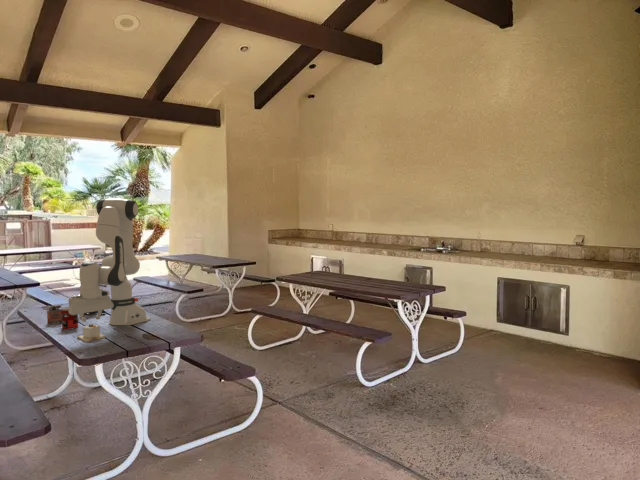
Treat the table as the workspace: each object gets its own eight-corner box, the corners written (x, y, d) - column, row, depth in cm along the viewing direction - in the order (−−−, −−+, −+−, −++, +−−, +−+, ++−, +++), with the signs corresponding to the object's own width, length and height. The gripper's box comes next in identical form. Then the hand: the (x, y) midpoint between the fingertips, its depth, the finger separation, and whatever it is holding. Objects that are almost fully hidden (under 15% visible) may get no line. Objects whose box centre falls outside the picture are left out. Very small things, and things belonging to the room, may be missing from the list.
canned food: (60, 327, 263) (59, 307, 262) (76, 324, 268) (75, 305, 267) (63, 330, 257) (62, 310, 256) (79, 327, 262) (79, 308, 262)
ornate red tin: (47, 324, 270) (46, 307, 269) (46, 323, 273) (46, 306, 272) (63, 322, 275) (62, 305, 274) (62, 321, 277) (61, 304, 277)
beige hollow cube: (92, 333, 245) (92, 323, 245) (100, 335, 242) (99, 324, 242) (83, 336, 240) (82, 325, 240) (90, 337, 237) (89, 327, 237)
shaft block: (97, 334, 248) (96, 321, 248) (106, 337, 242) (105, 324, 241) (77, 338, 241) (76, 324, 240) (85, 341, 234) (85, 327, 234)
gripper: (71, 297, 230) (72, 325, 231) (112, 291, 245) (113, 317, 246) (65, 295, 234) (66, 323, 235) (106, 290, 249) (107, 316, 250)
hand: (91, 320), depth 241 cm, fingers open, 5 cm apart
